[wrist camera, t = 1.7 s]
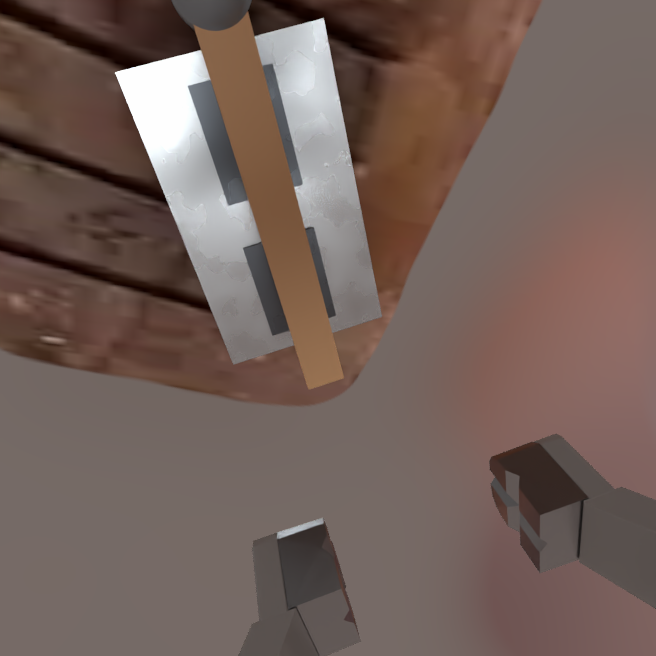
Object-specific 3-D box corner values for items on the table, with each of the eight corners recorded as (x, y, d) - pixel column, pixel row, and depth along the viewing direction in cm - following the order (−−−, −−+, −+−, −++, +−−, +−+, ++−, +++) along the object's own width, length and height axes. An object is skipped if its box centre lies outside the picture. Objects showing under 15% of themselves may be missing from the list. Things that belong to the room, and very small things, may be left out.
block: (94, 3, 26) (64, -18, 21) (300, -48, 27) (324, -81, 22) (231, 348, 38) (236, 394, 32) (372, 303, 39) (400, 341, 33)
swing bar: (154, -50, 21) (149, -65, 18) (234, -70, 21) (237, -86, 19) (293, 372, 32) (299, 392, 30) (343, 356, 32) (352, 375, 30)
